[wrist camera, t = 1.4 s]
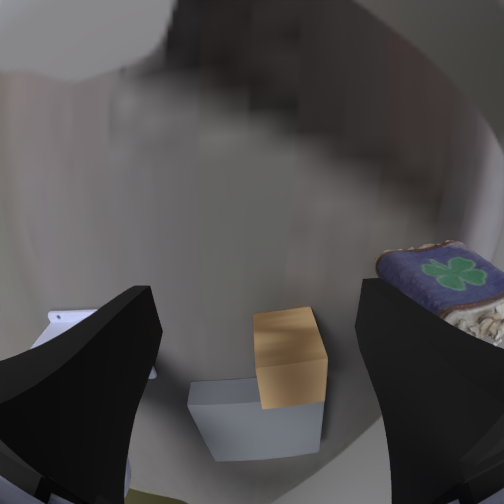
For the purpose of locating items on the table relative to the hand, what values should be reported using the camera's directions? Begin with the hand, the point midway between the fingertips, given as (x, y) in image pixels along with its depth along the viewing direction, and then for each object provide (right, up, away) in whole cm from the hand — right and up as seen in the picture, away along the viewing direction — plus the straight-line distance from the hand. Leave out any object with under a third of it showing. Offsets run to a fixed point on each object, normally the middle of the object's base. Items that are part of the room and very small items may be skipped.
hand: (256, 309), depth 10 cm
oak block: (+2, -5, +14) cm, 15 cm away
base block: (+1, -15, +18) cm, 23 cm away
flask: (+14, +1, +12) cm, 18 cm away
